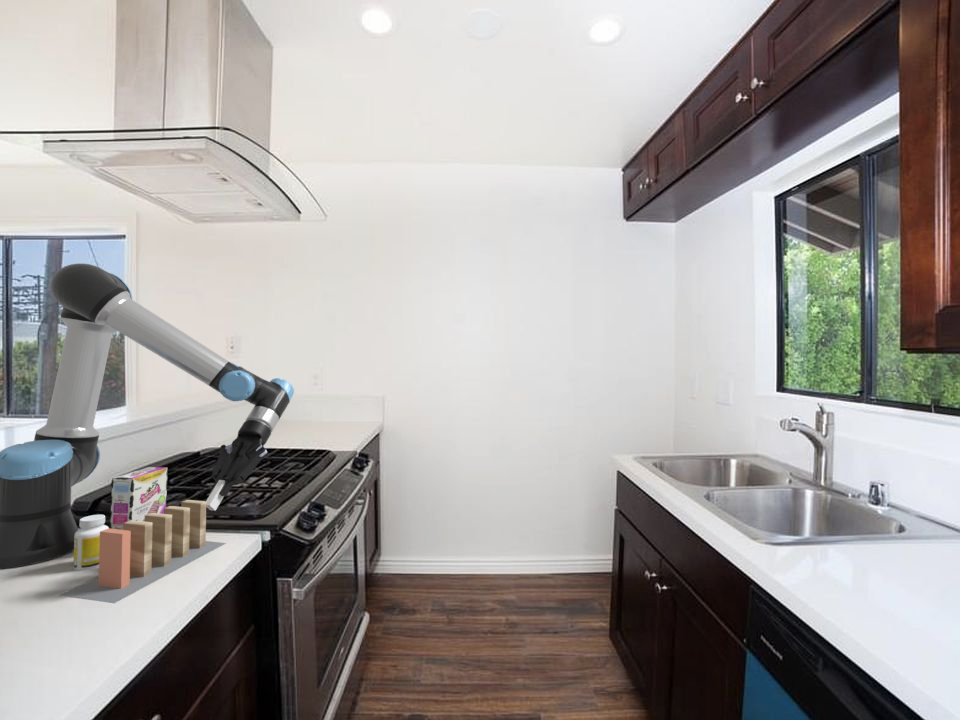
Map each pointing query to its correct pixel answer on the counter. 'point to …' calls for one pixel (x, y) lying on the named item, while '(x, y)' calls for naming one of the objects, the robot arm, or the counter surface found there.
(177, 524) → the domino
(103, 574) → the domino
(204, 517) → the domino
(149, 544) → the domino
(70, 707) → the counter surface
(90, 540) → the supplement bottle
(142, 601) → the counter surface
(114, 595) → the mat
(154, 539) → the domino
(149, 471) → the candy bar box
